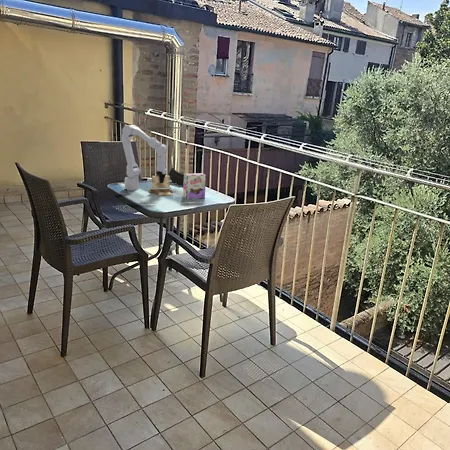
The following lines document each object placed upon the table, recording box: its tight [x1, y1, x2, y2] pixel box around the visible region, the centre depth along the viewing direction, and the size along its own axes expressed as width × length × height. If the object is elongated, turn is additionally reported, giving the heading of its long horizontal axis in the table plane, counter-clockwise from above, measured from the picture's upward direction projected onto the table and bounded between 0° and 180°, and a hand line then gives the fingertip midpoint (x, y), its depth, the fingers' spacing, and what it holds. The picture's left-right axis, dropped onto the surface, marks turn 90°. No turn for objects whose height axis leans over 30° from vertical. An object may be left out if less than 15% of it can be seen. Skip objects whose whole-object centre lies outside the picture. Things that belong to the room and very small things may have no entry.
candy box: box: [182, 172, 207, 200], centre depth 274 cm, size 14×6×16 cm, turn 117°
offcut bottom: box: [155, 193, 172, 197], centre depth 276 cm, size 10×4×2 cm, turn 114°
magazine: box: [168, 167, 185, 187], centre depth 312 cm, size 17×3×30 cm
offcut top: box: [157, 192, 172, 197], centre depth 276 cm, size 8×4×1 cm, turn 110°
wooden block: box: [151, 175, 171, 189], centre depth 281 cm, size 12×2×8 cm, turn 114°
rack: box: [148, 188, 174, 194], centre depth 283 cm, size 16×5×2 cm, turn 114°
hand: (160, 182), depth 282 cm, fingers closed on wooden block, 2 cm apart
